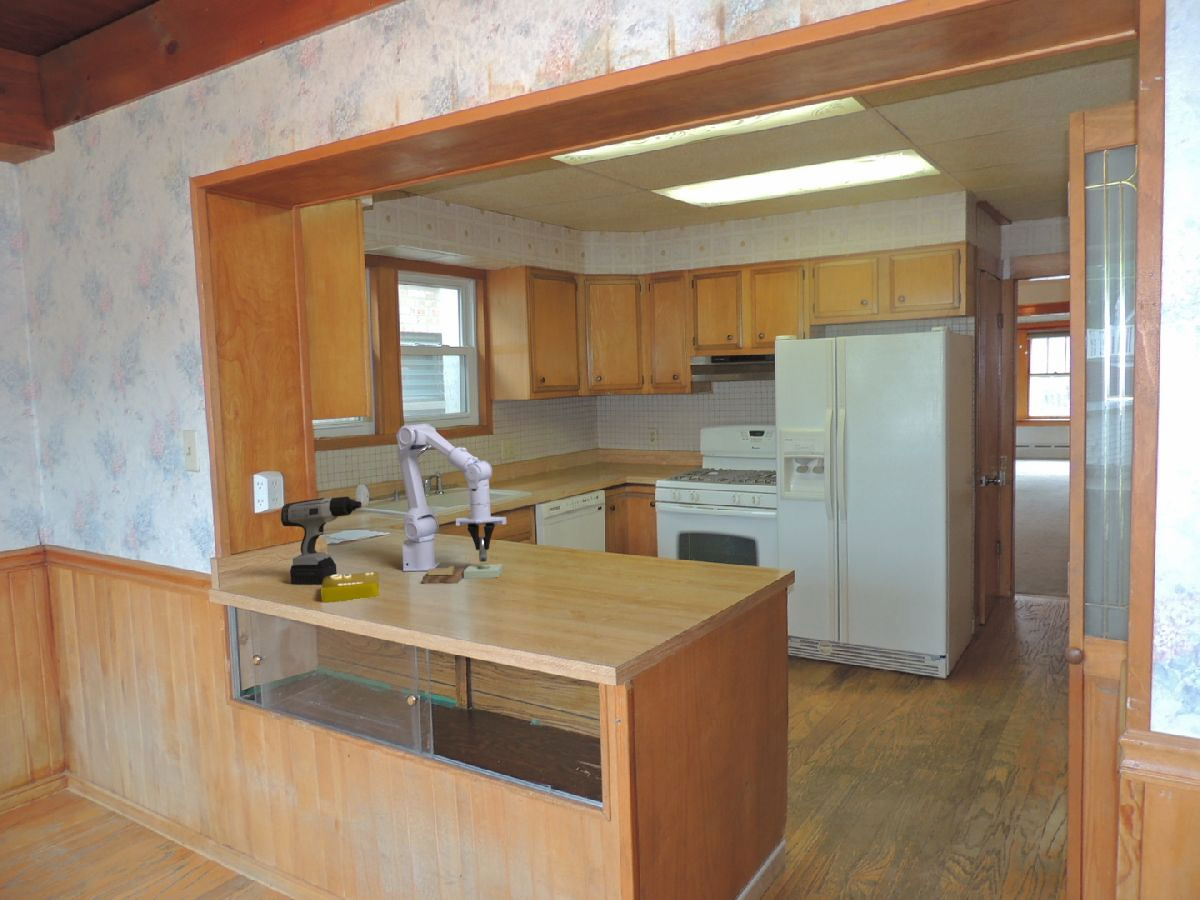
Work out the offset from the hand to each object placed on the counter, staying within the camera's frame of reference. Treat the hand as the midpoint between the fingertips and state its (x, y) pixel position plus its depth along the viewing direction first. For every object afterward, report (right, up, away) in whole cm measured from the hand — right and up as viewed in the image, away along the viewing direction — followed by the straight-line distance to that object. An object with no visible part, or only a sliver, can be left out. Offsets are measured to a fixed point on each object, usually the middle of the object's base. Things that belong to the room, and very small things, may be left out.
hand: (482, 549), depth 250 cm
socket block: (-10, -8, -4) cm, 14 cm away
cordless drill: (-45, -10, 0) cm, 46 cm away
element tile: (-34, -11, -15) cm, 39 cm away
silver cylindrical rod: (0, -3, 0) cm, 3 cm away
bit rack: (0, -8, +1) cm, 8 cm away
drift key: (-11, -6, -7) cm, 14 cm away
